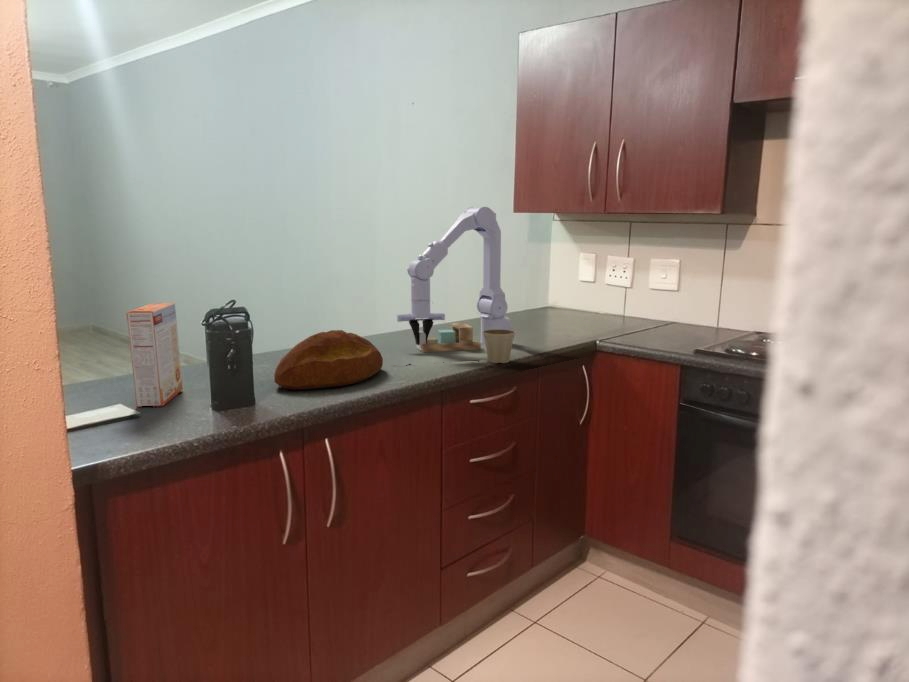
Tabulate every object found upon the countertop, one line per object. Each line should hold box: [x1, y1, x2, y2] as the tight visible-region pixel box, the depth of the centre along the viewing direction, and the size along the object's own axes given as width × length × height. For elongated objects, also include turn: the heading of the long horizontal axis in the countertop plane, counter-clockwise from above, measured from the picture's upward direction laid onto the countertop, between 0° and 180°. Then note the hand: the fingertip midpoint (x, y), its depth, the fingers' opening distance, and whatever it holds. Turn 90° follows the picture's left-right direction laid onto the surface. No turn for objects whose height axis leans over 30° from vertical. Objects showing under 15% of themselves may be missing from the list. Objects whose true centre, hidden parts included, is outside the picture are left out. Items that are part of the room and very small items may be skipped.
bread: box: [273, 329, 384, 391], centre depth 165 cm, size 21×33×12 cm, turn 138°
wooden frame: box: [415, 322, 482, 353], centre depth 203 cm, size 18×10×8 cm, turn 104°
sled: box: [416, 330, 456, 352], centre depth 202 cm, size 12×7×5 cm, turn 104°
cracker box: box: [126, 302, 184, 408], centre depth 145 cm, size 14×6×21 cm, turn 5°
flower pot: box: [483, 329, 517, 364], centre depth 186 cm, size 9×9×9 cm
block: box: [437, 329, 455, 343], centre depth 202 cm, size 4×4×4 cm
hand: (421, 344), depth 201 cm, fingers closed on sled, 2 cm apart
